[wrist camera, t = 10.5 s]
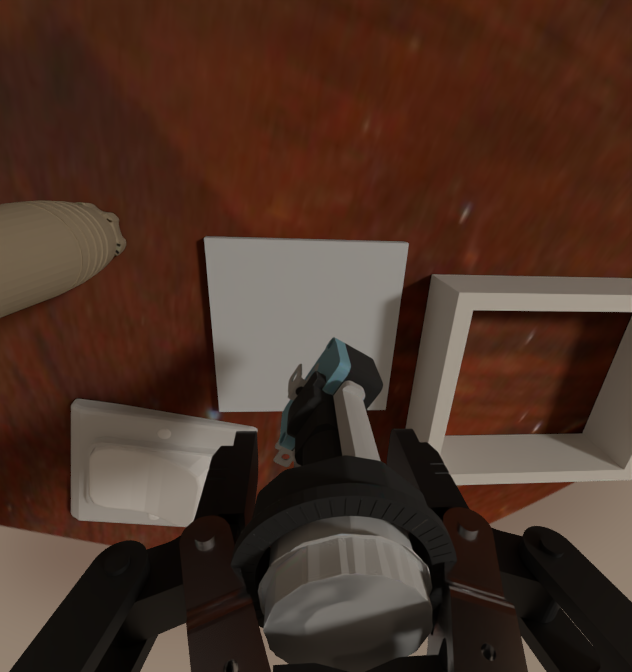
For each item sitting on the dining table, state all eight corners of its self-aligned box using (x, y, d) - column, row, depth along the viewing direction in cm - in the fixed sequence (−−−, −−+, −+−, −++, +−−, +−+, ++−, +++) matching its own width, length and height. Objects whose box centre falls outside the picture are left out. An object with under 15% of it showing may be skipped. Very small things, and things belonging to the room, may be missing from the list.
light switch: (231, 558, 28) (50, 550, 25) (235, 513, 32) (77, 501, 29) (258, 454, 24) (46, 430, 21) (259, 416, 28) (79, 392, 25)
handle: (157, 198, 20) (-138, 241, 6) (128, 298, 22) (-139, 496, 8) (65, 156, 19) (-552, 91, 5) (44, 266, 21) (-428, 433, 7)
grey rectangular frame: (402, 446, 28) (419, 486, 25) (431, 274, 23) (459, 292, 19) (589, 442, 30) (631, 479, 26) (661, 278, 24) (728, 296, 20)
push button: (324, 462, 18) (348, 737, 9) (232, 420, 17) (153, 690, 8) (401, 365, 16) (531, 596, 7) (303, 308, 15) (305, 501, 6)
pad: (220, 406, 26) (219, 411, 25) (206, 236, 21) (203, 237, 20) (383, 405, 27) (385, 409, 26) (405, 241, 22) (408, 243, 21)
